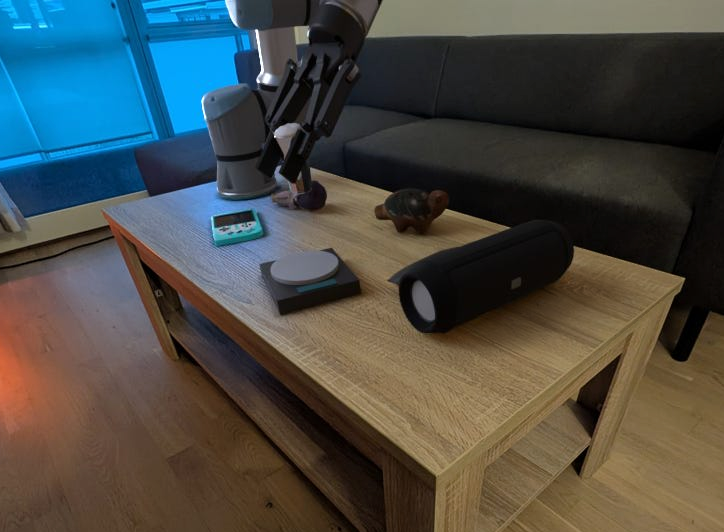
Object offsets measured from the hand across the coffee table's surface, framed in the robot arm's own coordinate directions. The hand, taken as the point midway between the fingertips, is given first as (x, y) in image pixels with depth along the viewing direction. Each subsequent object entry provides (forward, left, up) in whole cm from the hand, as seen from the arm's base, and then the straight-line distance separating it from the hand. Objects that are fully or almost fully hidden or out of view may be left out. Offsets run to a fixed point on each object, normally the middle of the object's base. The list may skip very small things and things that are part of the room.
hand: (274, 175), depth 64 cm
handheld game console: (-31, -5, -17) cm, 36 cm away
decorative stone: (+11, +21, -18) cm, 29 cm away
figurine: (-36, +10, -17) cm, 41 cm away
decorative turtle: (-11, +27, -17) cm, 34 cm away
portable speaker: (+21, +23, -17) cm, 36 cm away
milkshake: (-2, +3, -3) cm, 5 cm away
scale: (+2, +2, -17) cm, 17 cm away
